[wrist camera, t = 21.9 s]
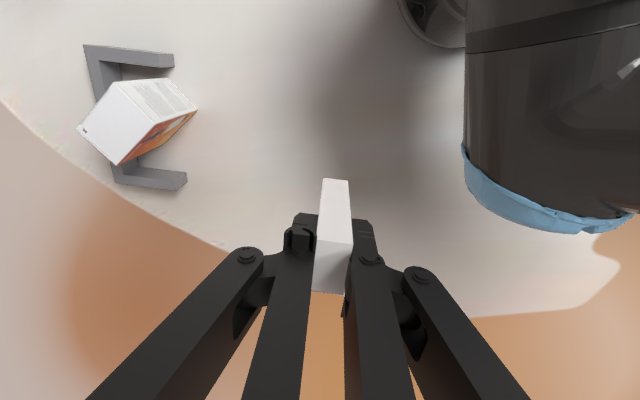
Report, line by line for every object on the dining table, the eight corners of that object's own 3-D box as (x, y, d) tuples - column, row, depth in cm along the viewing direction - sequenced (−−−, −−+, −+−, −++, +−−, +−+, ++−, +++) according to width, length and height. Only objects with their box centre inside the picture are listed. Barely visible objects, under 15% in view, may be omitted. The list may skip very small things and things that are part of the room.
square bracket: (104, 45, 37) (82, 44, 33) (173, 54, 37) (157, 53, 33) (130, 174, 45) (115, 183, 42) (187, 181, 45) (175, 190, 42)
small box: (164, 144, 42) (115, 168, 33) (133, 113, 40) (71, 129, 31) (199, 109, 40) (156, 125, 30) (168, 75, 38) (112, 80, 28)
